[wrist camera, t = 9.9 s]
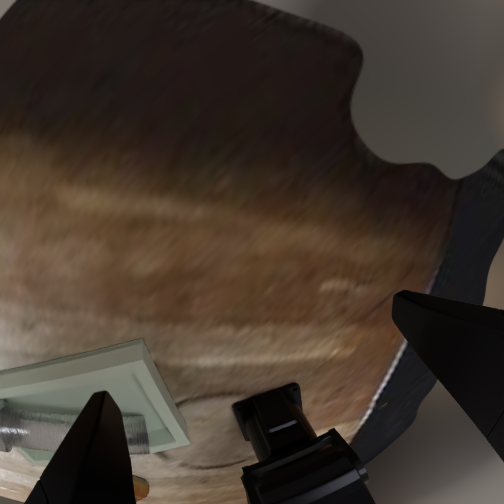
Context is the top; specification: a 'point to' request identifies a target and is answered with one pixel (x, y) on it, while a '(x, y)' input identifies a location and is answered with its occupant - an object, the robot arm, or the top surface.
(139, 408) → the tray
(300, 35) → the top surface
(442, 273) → the top surface
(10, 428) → the pin
